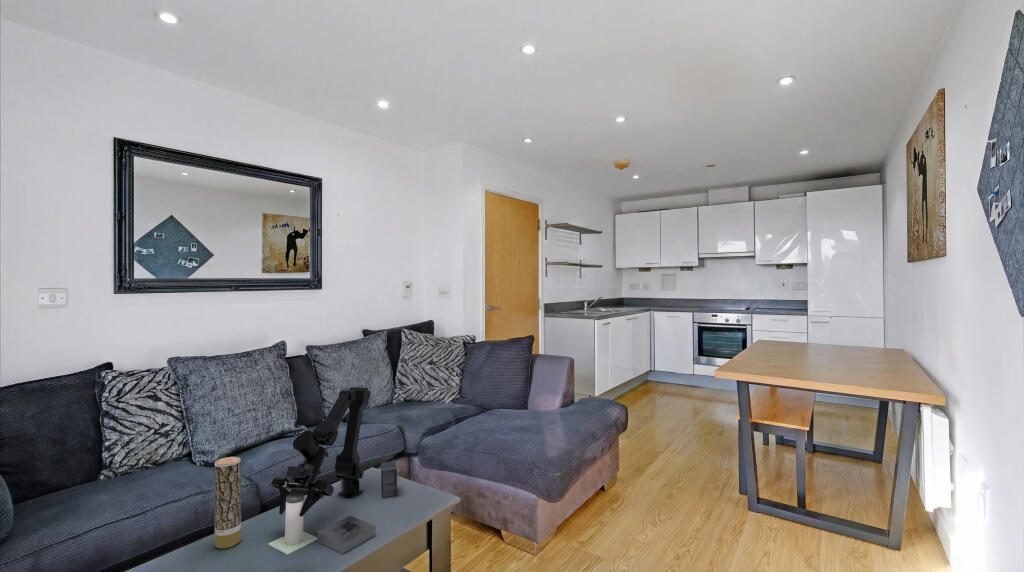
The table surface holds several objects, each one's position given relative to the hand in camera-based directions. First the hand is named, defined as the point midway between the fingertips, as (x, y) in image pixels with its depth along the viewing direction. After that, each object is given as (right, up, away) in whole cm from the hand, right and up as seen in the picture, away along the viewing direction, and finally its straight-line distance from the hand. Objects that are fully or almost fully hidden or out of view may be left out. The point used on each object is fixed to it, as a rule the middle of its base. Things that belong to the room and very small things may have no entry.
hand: (290, 515), depth 141 cm
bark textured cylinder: (-19, -9, +1) cm, 21 cm away
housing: (+16, -9, +3) cm, 18 cm away
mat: (0, -9, +1) cm, 9 cm away
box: (+20, -9, +35) cm, 41 cm away
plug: (0, -8, +1) cm, 8 cm away
